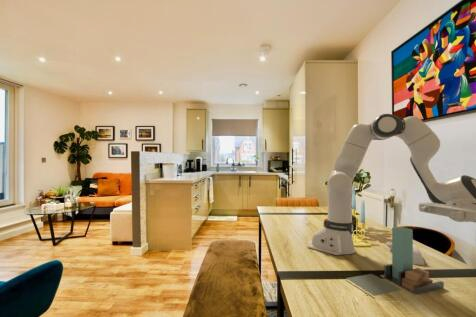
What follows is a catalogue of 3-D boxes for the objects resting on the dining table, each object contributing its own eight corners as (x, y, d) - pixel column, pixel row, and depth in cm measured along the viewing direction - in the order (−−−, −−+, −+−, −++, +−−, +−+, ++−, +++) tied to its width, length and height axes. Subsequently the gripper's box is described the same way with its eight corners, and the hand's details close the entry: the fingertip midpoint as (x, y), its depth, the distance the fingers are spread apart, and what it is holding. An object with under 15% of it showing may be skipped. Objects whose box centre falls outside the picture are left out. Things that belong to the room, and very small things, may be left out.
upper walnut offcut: (416, 283, 79) (416, 275, 79) (405, 278, 82) (405, 271, 82) (428, 279, 82) (428, 272, 82) (417, 275, 85) (417, 268, 85)
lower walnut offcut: (413, 291, 79) (413, 283, 79) (401, 285, 83) (401, 278, 83) (432, 287, 82) (432, 280, 82) (420, 281, 85) (420, 274, 86)
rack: (415, 297, 77) (415, 281, 77) (379, 278, 90) (379, 264, 90) (443, 291, 81) (443, 276, 81) (404, 273, 94) (404, 260, 94)
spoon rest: (382, 247, 125) (382, 233, 125) (408, 249, 122) (408, 234, 122) (403, 266, 102) (403, 249, 102) (435, 269, 99) (435, 251, 99)
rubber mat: (374, 298, 76) (374, 295, 76) (346, 280, 88) (346, 278, 88) (402, 292, 80) (402, 289, 80) (371, 276, 91) (371, 273, 91)
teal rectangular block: (402, 281, 85) (402, 230, 86) (392, 276, 89) (392, 227, 90) (412, 279, 87) (412, 229, 87) (402, 274, 91) (402, 226, 91)
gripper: (431, 198, 105) (408, 199, 101) (493, 206, 86) (468, 208, 81) (431, 213, 105) (408, 214, 101) (493, 224, 85) (468, 227, 81)
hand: (435, 212), depth 91 cm, fingers open, 8 cm apart
